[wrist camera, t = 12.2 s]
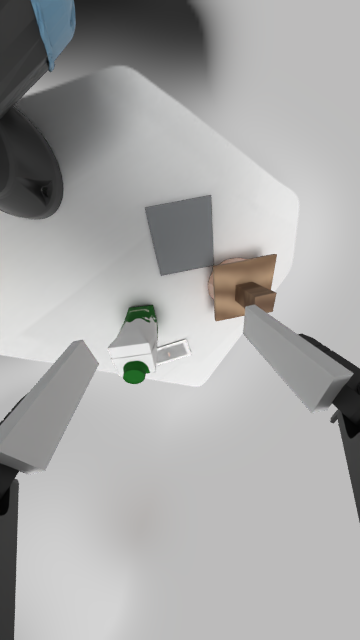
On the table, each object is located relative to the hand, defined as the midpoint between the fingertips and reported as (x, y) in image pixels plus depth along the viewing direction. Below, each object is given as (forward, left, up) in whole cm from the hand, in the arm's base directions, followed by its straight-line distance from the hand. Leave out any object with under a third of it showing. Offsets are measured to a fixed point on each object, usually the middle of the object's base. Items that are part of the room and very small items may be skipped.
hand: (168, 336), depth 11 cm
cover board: (+7, +18, -22) cm, 30 cm away
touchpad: (+28, -4, -29) cm, 41 cm away
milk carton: (+12, -9, -29) cm, 33 cm away
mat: (-6, +6, -29) cm, 30 cm away
